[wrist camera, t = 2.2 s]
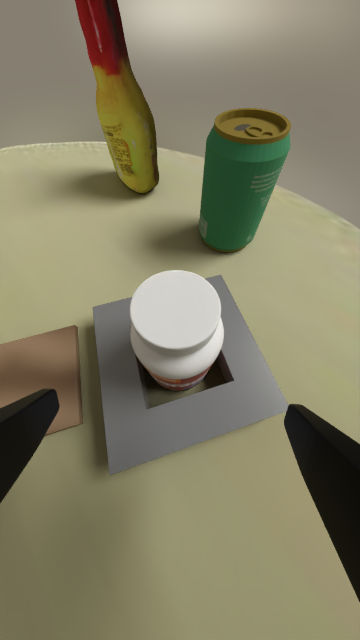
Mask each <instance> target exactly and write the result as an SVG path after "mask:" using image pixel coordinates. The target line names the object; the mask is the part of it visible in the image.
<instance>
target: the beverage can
mask: <svg viewBox="0 0 360 640" xmlns="http://www.w3.org/2000/svg"><path fill="white" fill-rule="evenodd" d="M290 128H291V123H290V121H289V120H288V119H287V118H286V117H284V116H282V115H280V114H278V113H276V112H273V111H269V110H264V109H257V108H241V109H240V108H239V109H233V110H229V111H226V112H223V113H221V114H219V115H218V116H217V117H216V119H215V123H214V126H213V128H212V130H211V132H210V133H209V135H208V137H207V141H206V152H205V164H204V175H203V187H202V198H201V210H200V221H199V232H200V235H201V237H202V240H203V241H204V243H205V244H206V245H207V246H208V247H210V248H211V249H213V250H216V251H219V252H225V253H230V252H236V251H239V250H241V249H243V248H244V247H245V246H246V245H247V244H248V243H250V242H251V241H252V239H253V238H254V235H255V233H256V231H257V228H258V226H259V223H260V221H261V218H262V216H263V213H264V211H265V208H266V206H267V203H268V201H269V198H270V196H271V194H272V191H273V189H274V186H275V184H276V181H277V179H278V176H279V174H280V171H281V169H282V166H283V164H284V161H285V159H286V157H287V154H288V151H289V149H290V135H289V131H290Z"/></svg>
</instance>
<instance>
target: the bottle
mask: <svg viewBox="0 0 360 640" xmlns="http://www.w3.org/2000/svg"><path fill="white" fill-rule="evenodd" d="M75 2H76V7H77V11H78V16H79V20H80V24H81V27H82V30H83V33H84V37H85V40H86V44H87V49H88V55H89V59H90V61H91V64H92V67H93V71H94V74H95V77H96V82H97V90H96V105H97V112H98V116H99V120H100V123H101V126H102V129H103V132H104V135H105V138H106V142H107V145H108V149H109V153H110V155H111V158H112V160H113V164H114V167H115V169H116V171H117V173H118V175H119V177H120V179H121V180H122V181H123V182H124V183H125V184H126V185H127V186H128V187H129V188H130V189H132V190H134V191H136V192H138V193H147V192H148V191H149V190H151V189H152V188H154V187H155V186H157V184H158V181H159V172H158V166H157V147H156V131H155V124H154V119H153V116H152V113H151V111H150V108H149V106H148V104H147V102H146V100H145V98H144V95H143V93H142V90H141V88H140V87H139V85H138V83H137V81H136V79H135V77H134V75H133V72H132V69H131V66H130V62H129V57H128V52H127V48H126V43H125V38H124V33H123V27H122V21H121V16H120V12H119V7H118V3H117V0H75Z"/></svg>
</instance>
